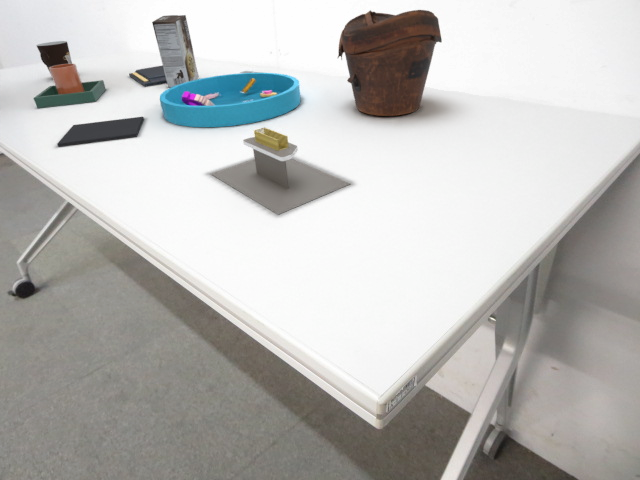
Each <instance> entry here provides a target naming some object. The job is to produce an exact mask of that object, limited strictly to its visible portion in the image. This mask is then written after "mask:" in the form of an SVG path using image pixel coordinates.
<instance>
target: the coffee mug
mask: <svg viewBox="0 0 640 480" xmlns="http://www.w3.org/2000/svg"><path fill="white" fill-rule="evenodd" d="M68 43H69V42H68V41H67V40H58V41H57V40H56V41H49V42H42V43H38V44H36V48H37V51H38V52H39V55H40V60H41V61H42V63H43V64H44V65H45V66H46V68H47V70H48V72H49V74H50V76H51V77H52V75H51V72H50V70H49V67H52V66H55V65H61V64H73V61H72V57H71V53H70V49H69V44H68Z"/></svg>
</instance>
